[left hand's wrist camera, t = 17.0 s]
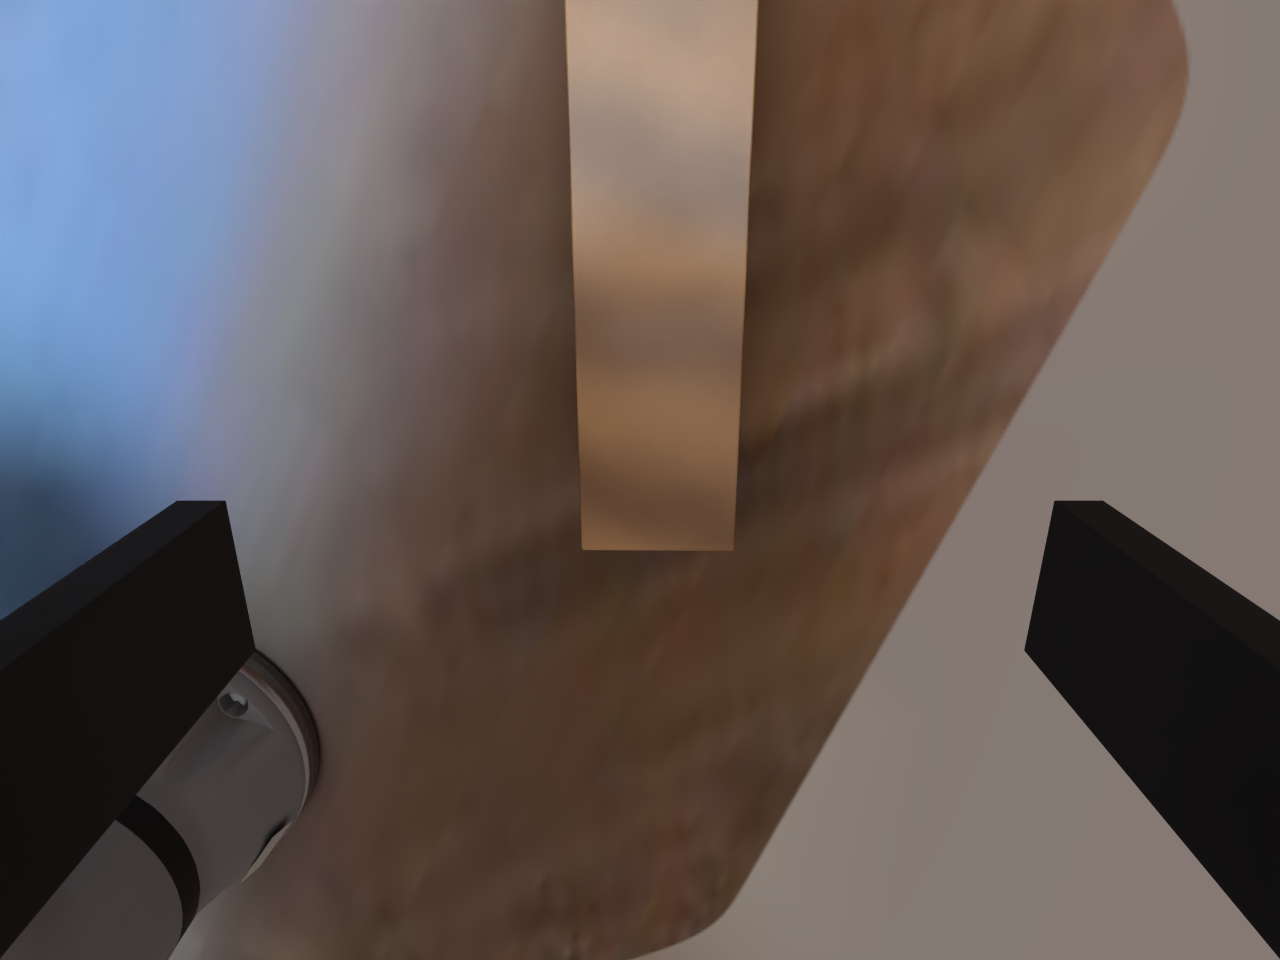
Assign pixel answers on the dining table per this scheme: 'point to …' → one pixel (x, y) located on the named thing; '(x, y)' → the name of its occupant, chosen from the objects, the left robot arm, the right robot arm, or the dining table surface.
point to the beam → (659, 263)
